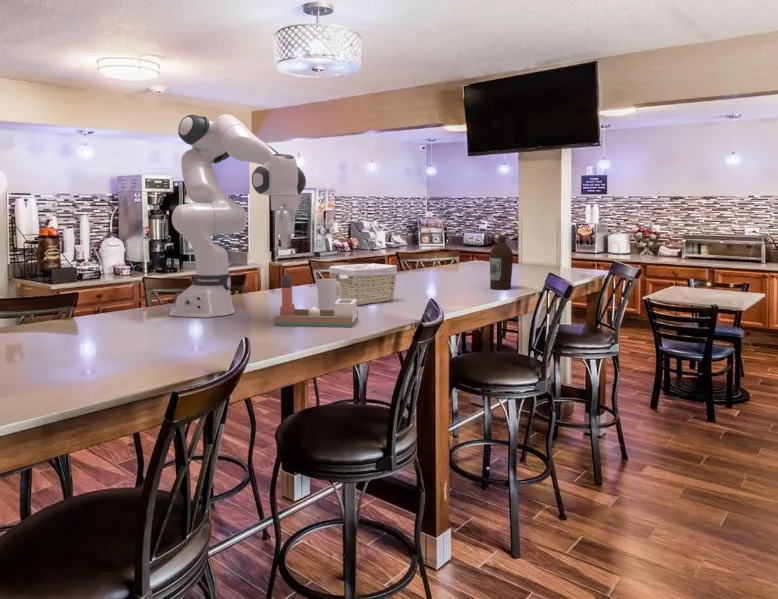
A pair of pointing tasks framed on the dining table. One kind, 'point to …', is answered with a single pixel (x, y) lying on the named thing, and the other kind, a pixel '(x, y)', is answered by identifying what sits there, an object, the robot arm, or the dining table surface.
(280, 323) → the board
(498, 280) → the olive oil
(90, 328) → the dining table surface
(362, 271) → the storage basket
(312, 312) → the ball
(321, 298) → the mug
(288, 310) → the post
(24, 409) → the dining table surface
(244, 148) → the robot arm
